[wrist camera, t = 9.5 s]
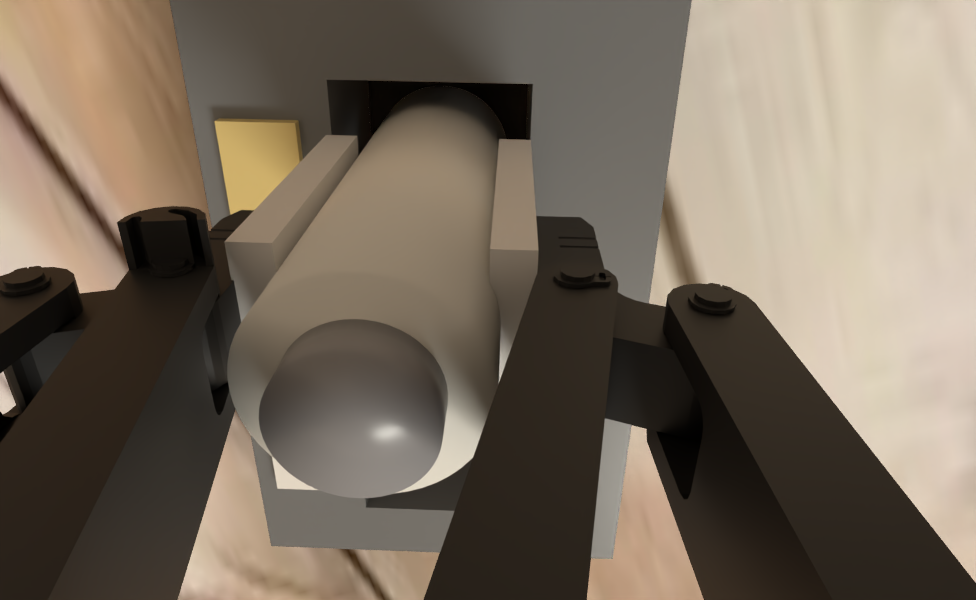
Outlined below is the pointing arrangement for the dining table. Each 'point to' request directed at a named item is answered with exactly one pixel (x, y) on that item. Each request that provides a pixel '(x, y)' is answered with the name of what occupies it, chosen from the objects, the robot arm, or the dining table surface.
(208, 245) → the robot arm
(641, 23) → the socket block
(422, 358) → the plug
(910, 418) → the dining table surface
